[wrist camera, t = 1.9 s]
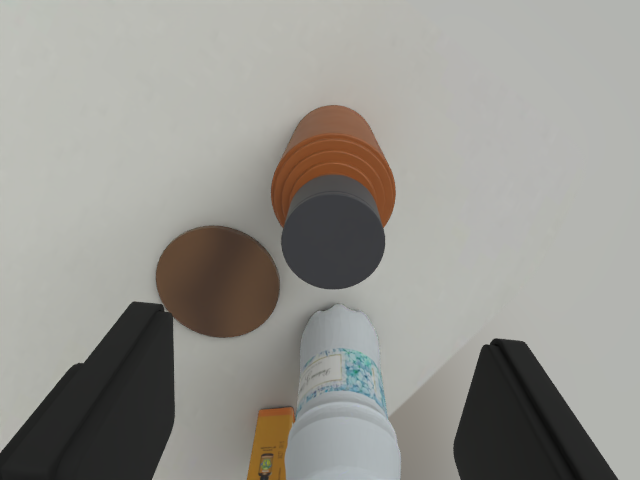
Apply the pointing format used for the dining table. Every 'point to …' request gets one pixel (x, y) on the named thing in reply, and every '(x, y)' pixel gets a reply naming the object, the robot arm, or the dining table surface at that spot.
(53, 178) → the dining table surface
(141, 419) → the robot arm
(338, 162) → the sauce bottle
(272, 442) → the supplement box
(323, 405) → the bottle
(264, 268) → the coaster
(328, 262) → the cap
